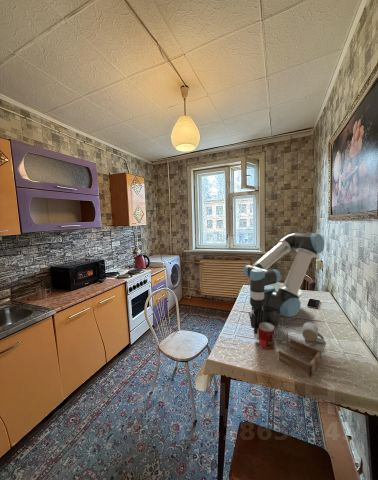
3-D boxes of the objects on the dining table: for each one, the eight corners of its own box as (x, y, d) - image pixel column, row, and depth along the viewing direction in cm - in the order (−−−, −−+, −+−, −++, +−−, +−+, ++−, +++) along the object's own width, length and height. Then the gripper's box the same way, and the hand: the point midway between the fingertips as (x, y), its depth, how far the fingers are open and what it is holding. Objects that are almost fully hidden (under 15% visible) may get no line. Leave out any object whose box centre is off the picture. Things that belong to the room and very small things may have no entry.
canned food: (268, 352, 104) (269, 331, 103) (255, 344, 111) (255, 325, 109) (277, 345, 109) (277, 326, 107) (263, 338, 115) (264, 320, 114)
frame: (290, 347, 107) (290, 338, 106) (321, 360, 96) (321, 351, 96) (278, 360, 98) (278, 351, 97) (310, 377, 87) (311, 366, 87)
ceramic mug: (301, 340, 113) (302, 327, 112) (302, 332, 120) (303, 320, 119) (324, 346, 107) (325, 332, 106) (324, 338, 114) (324, 325, 113)
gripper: (257, 292, 118) (257, 330, 120) (244, 299, 109) (244, 340, 112) (269, 296, 112) (269, 336, 115) (256, 303, 104) (256, 346, 106)
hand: (256, 338), depth 113 cm, fingers closed
